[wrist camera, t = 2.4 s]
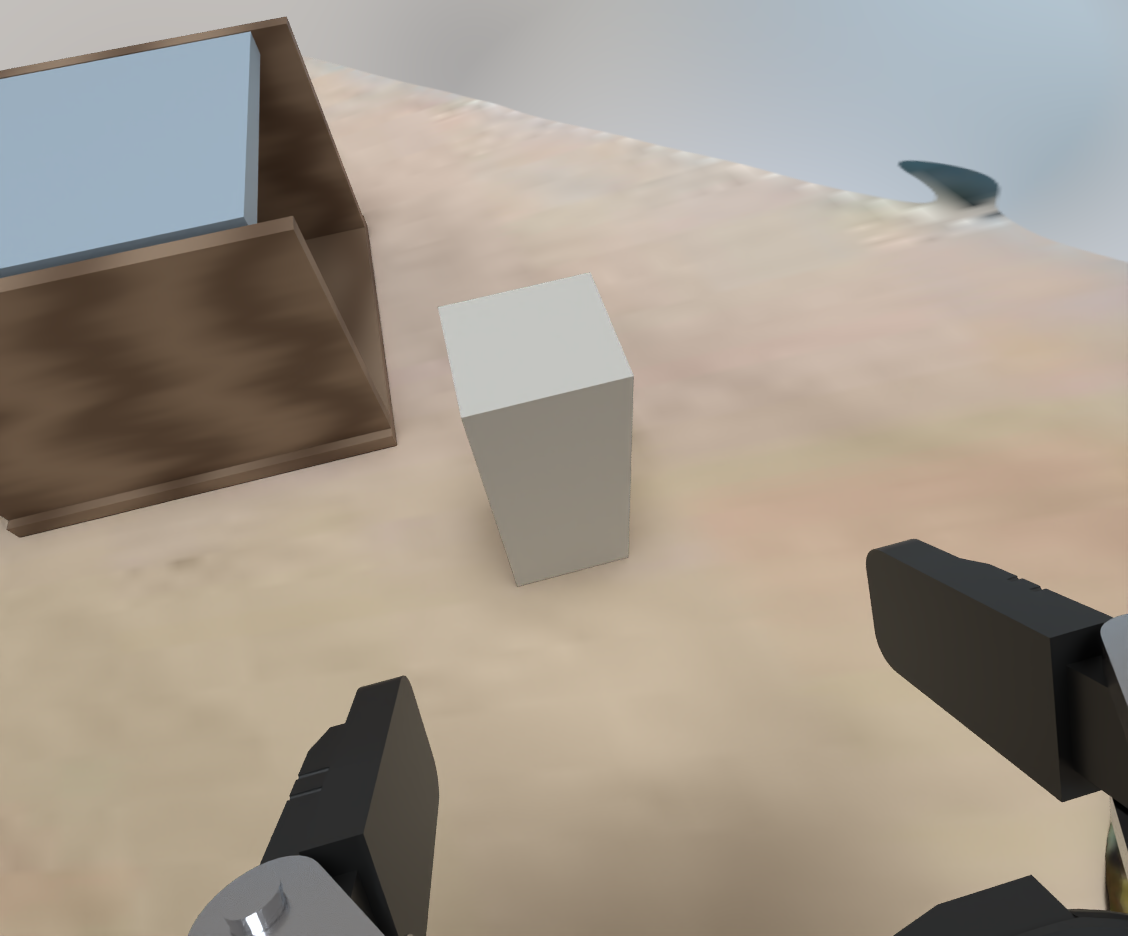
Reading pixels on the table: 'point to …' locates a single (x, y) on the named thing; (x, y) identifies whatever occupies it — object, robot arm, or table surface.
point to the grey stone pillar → (547, 421)
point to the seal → (1116, 876)
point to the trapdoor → (128, 152)
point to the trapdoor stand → (199, 335)
